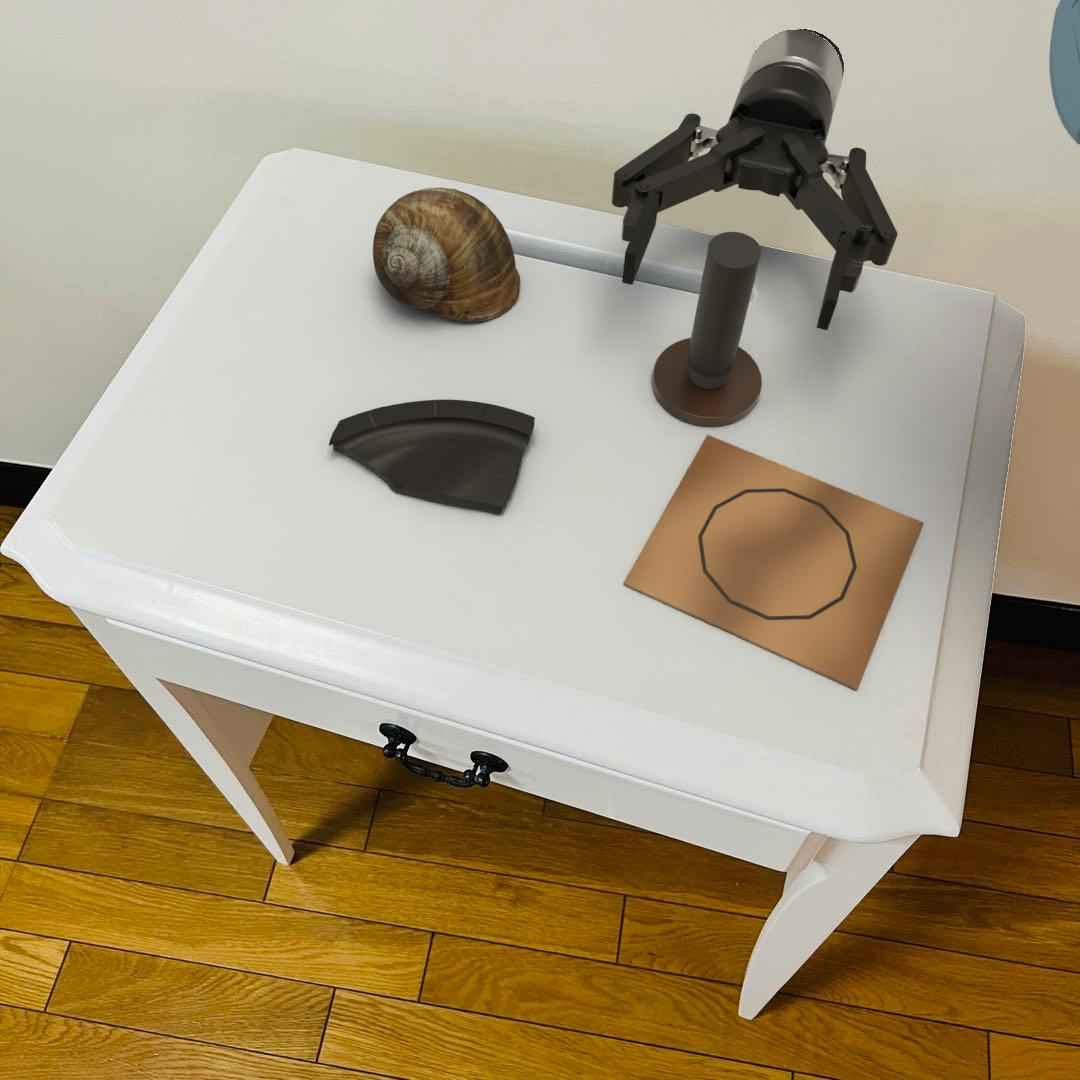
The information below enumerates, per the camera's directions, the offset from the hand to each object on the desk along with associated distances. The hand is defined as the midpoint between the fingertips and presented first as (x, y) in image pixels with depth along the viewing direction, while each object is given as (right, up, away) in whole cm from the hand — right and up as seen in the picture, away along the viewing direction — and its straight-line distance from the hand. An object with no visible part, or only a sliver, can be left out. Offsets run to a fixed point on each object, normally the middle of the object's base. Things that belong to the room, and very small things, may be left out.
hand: (726, 292), depth 70 cm
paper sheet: (+3, -18, 0) cm, 18 cm away
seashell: (-20, +3, +13) cm, 24 cm away
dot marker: (0, -5, +7) cm, 8 cm away
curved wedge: (-19, -10, +4) cm, 22 cm away
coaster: (0, -5, +8) cm, 9 cm away
